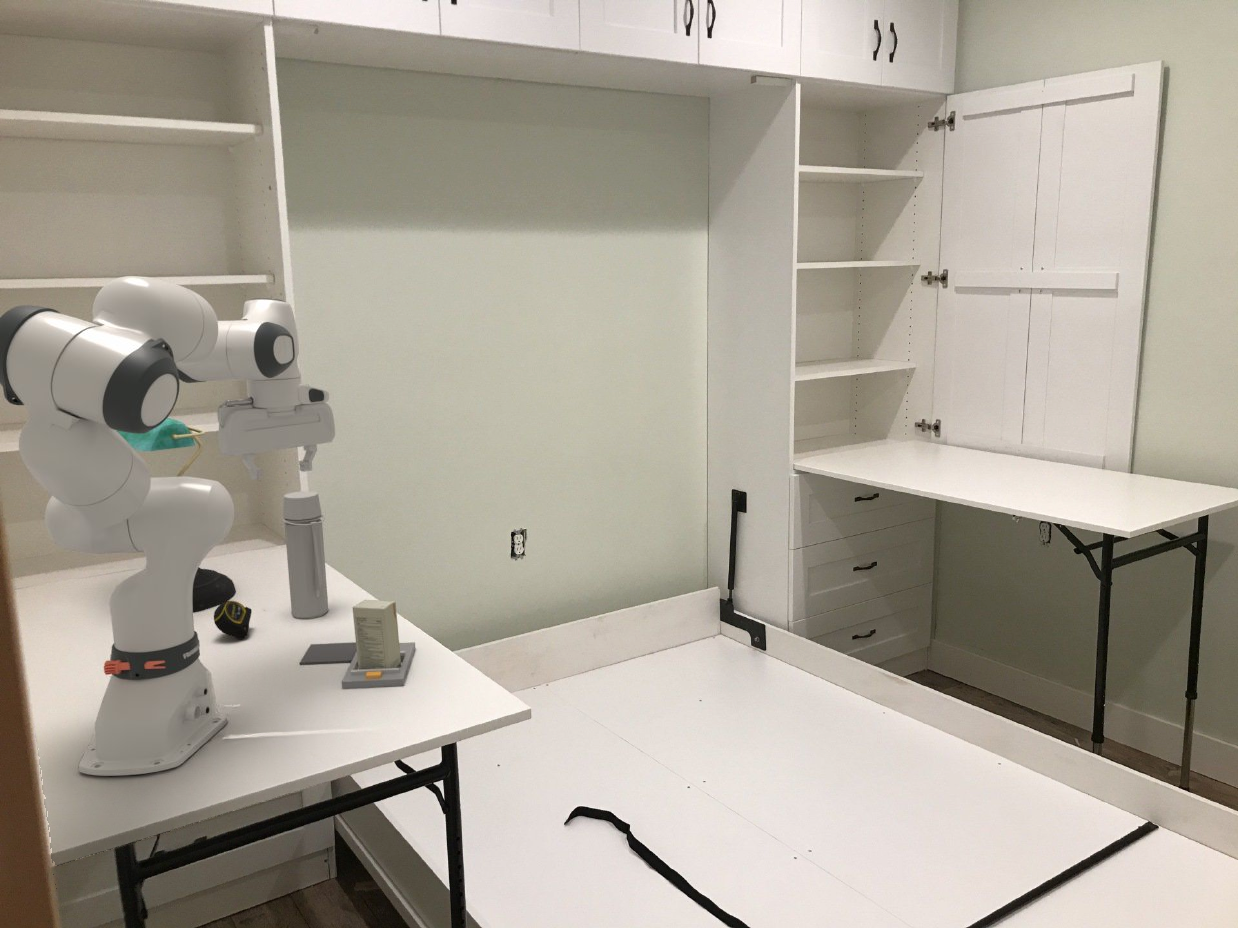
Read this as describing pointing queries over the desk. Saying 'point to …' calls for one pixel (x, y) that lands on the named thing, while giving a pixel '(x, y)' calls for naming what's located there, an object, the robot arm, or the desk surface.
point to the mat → (329, 653)
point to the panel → (379, 672)
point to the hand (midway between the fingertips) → (281, 474)
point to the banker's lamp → (176, 434)
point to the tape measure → (233, 619)
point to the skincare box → (376, 634)
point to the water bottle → (305, 554)
